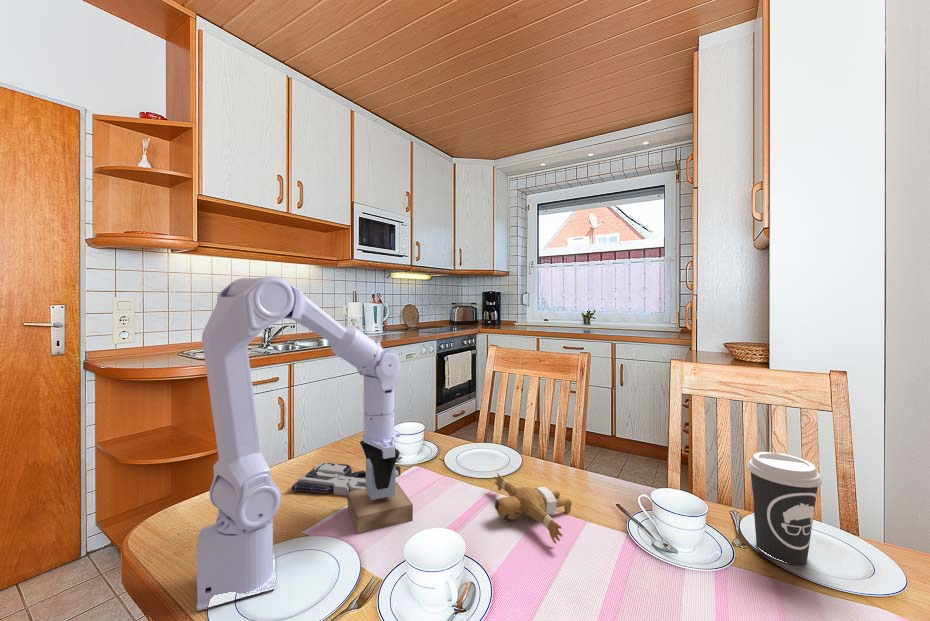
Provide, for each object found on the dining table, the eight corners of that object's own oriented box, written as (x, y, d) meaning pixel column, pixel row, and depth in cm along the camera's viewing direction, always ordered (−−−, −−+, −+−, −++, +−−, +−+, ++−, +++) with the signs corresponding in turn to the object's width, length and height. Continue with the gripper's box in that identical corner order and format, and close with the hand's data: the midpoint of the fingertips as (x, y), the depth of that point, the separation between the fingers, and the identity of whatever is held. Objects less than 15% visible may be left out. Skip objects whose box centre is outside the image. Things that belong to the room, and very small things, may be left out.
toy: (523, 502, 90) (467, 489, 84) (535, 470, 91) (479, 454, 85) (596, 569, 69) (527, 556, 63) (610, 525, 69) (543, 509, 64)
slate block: (371, 500, 74) (371, 467, 74) (365, 489, 78) (365, 459, 78) (395, 495, 76) (395, 463, 76) (388, 485, 80) (388, 455, 80)
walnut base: (357, 533, 70) (357, 516, 70) (347, 507, 79) (347, 492, 79) (412, 520, 75) (412, 504, 75) (397, 496, 84) (397, 482, 84)
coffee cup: (820, 550, 66) (822, 460, 66) (819, 581, 59) (822, 479, 59) (749, 528, 72) (751, 445, 72) (741, 553, 65) (743, 461, 65)
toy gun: (403, 474, 96) (379, 506, 81) (327, 465, 100) (290, 494, 85) (404, 462, 96) (379, 493, 81) (327, 454, 100) (291, 482, 85)
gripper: (411, 419, 72) (411, 494, 72) (389, 400, 85) (389, 464, 85) (371, 424, 69) (372, 503, 69) (355, 404, 82) (355, 470, 82)
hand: (379, 482), depth 77 cm, fingers closed on slate block, 4 cm apart
